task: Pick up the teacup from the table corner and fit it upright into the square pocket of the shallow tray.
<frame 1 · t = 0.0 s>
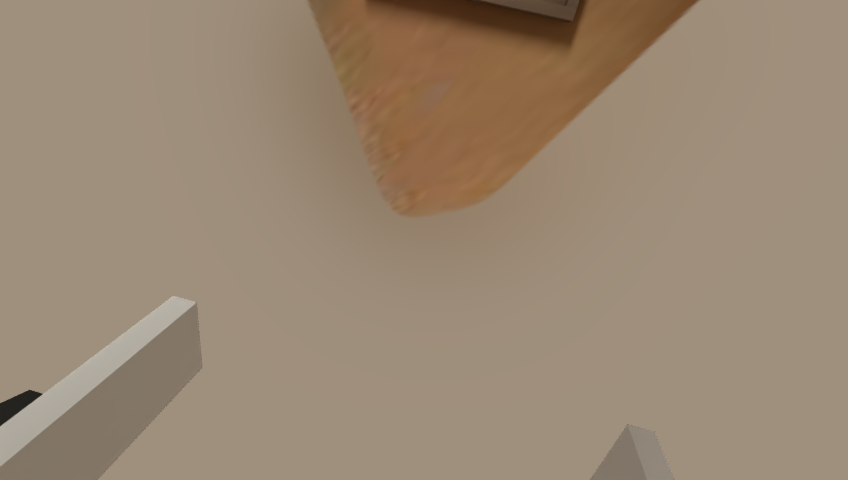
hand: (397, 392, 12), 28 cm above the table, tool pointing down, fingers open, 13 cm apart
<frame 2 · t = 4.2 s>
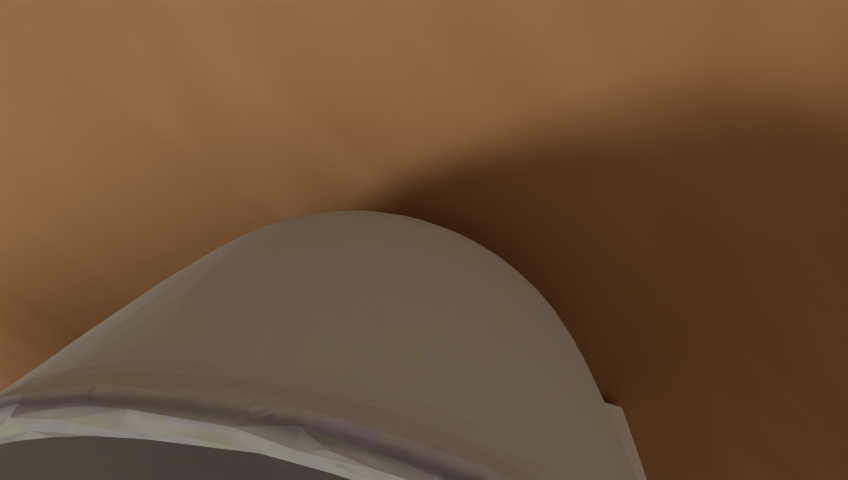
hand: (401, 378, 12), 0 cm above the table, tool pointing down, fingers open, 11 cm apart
teacup: (408, 369, 13), on the table, touching gripper
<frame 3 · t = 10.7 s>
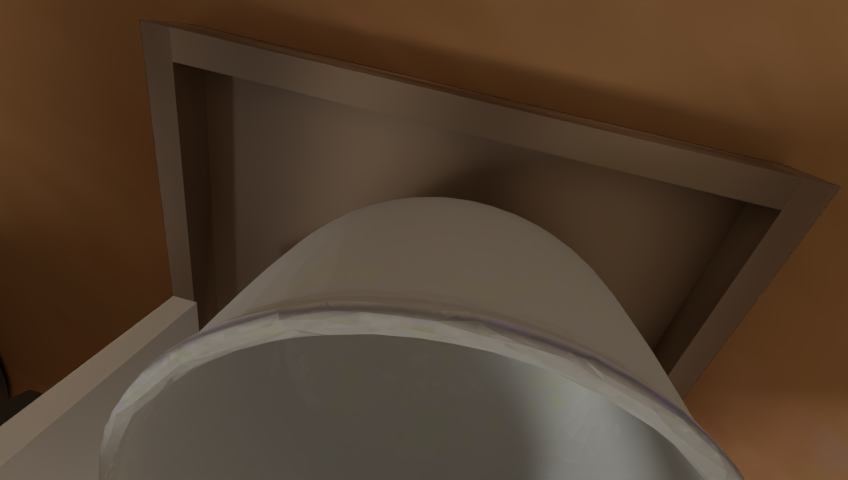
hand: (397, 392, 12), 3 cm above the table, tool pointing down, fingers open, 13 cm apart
shallow tray: (416, 326, 15), on the table
teacup: (455, 344, 14), resting on shallow tray, touching gripper
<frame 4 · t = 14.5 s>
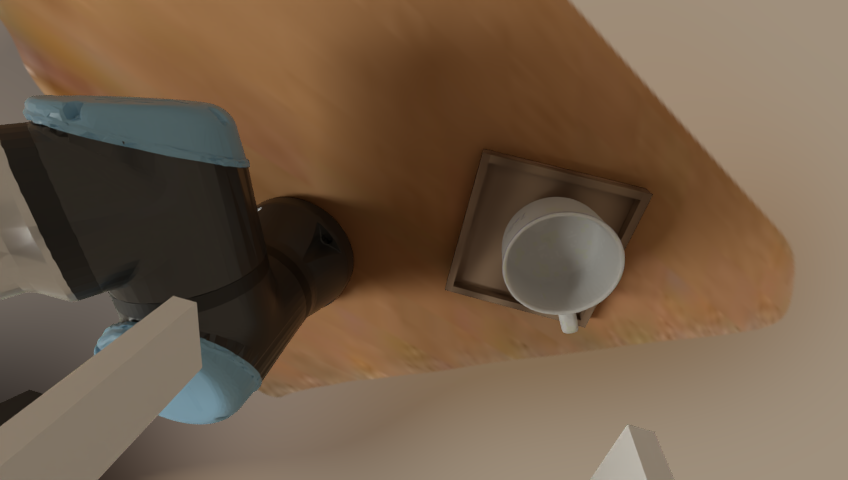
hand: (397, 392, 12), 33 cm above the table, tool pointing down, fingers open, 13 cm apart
shallow tray: (536, 240, 44), on the table
teacup: (550, 244, 43), resting on shallow tray
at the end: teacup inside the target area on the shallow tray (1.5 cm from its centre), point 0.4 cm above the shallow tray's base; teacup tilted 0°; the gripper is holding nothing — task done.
